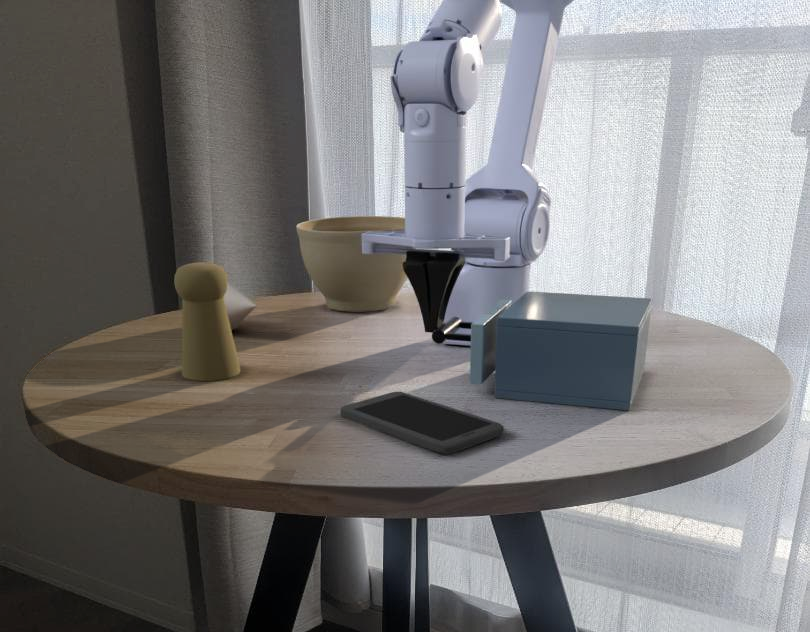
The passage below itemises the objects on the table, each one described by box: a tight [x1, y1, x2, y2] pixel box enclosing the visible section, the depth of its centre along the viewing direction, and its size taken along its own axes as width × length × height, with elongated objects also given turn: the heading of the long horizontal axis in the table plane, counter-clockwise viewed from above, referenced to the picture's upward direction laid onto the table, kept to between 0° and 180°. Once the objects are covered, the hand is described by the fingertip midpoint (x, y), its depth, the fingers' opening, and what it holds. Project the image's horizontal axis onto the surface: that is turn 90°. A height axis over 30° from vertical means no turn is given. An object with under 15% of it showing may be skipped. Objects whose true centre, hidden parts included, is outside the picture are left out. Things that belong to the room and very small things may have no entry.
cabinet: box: [494, 290, 653, 411], centre depth 84 cm, size 13×13×8 cm
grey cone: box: [224, 281, 257, 331], centre depth 105 cm, size 6×6×15 cm
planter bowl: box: [295, 215, 417, 313], centre depth 117 cm, size 16×16×11 cm
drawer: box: [431, 300, 511, 386], centre depth 86 cm, size 16×11×6 cm
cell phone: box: [339, 391, 505, 454], centre depth 75 cm, size 7×14×1 cm, turn 42°
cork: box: [173, 261, 241, 382], centre depth 88 cm, size 6×6×11 cm
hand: (434, 330), depth 88 cm, fingers closed
